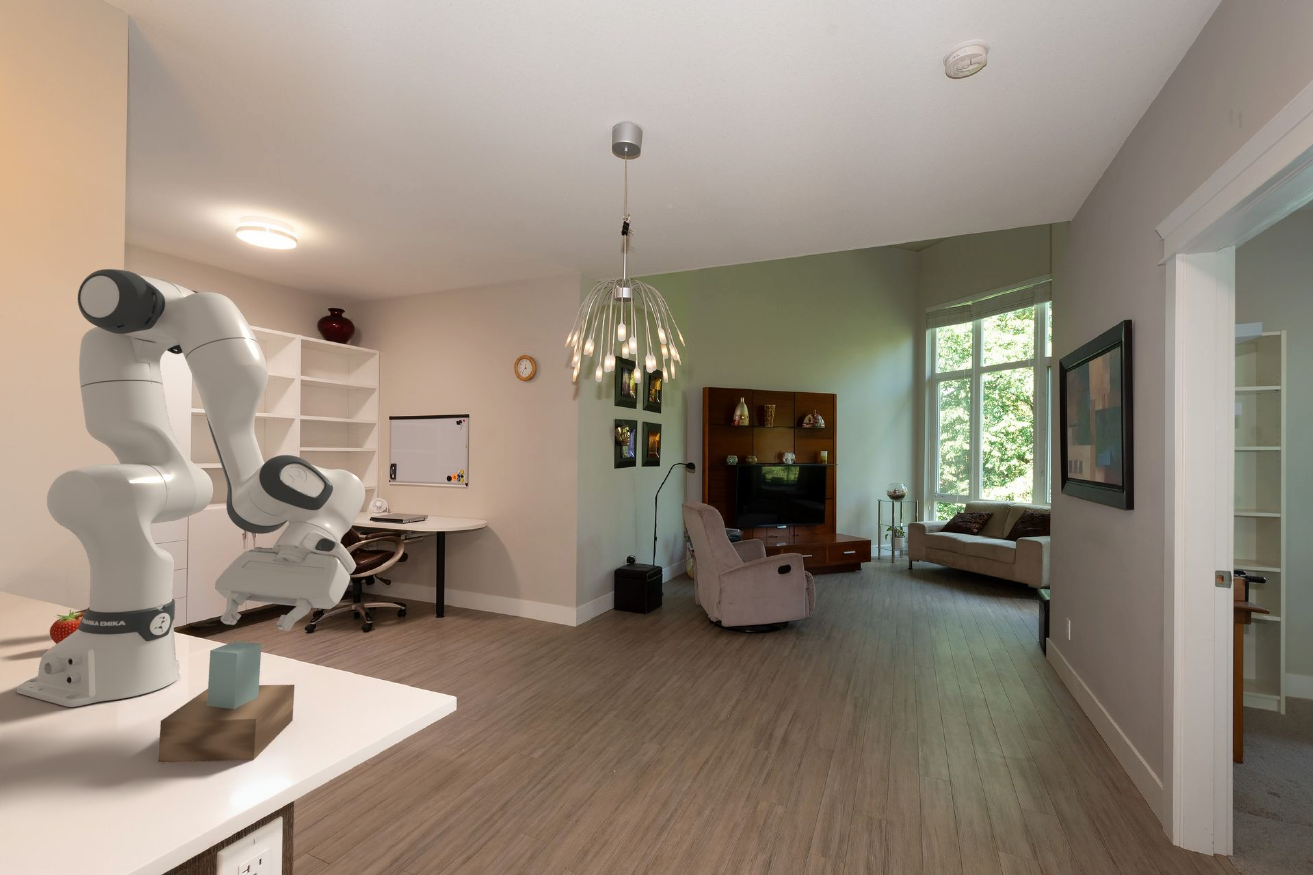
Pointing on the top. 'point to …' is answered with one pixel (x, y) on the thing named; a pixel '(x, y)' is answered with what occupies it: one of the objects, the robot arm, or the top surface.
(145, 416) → the robot arm
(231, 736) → the walnut block
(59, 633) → the fruit
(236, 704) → the tea tin
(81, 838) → the top surface
